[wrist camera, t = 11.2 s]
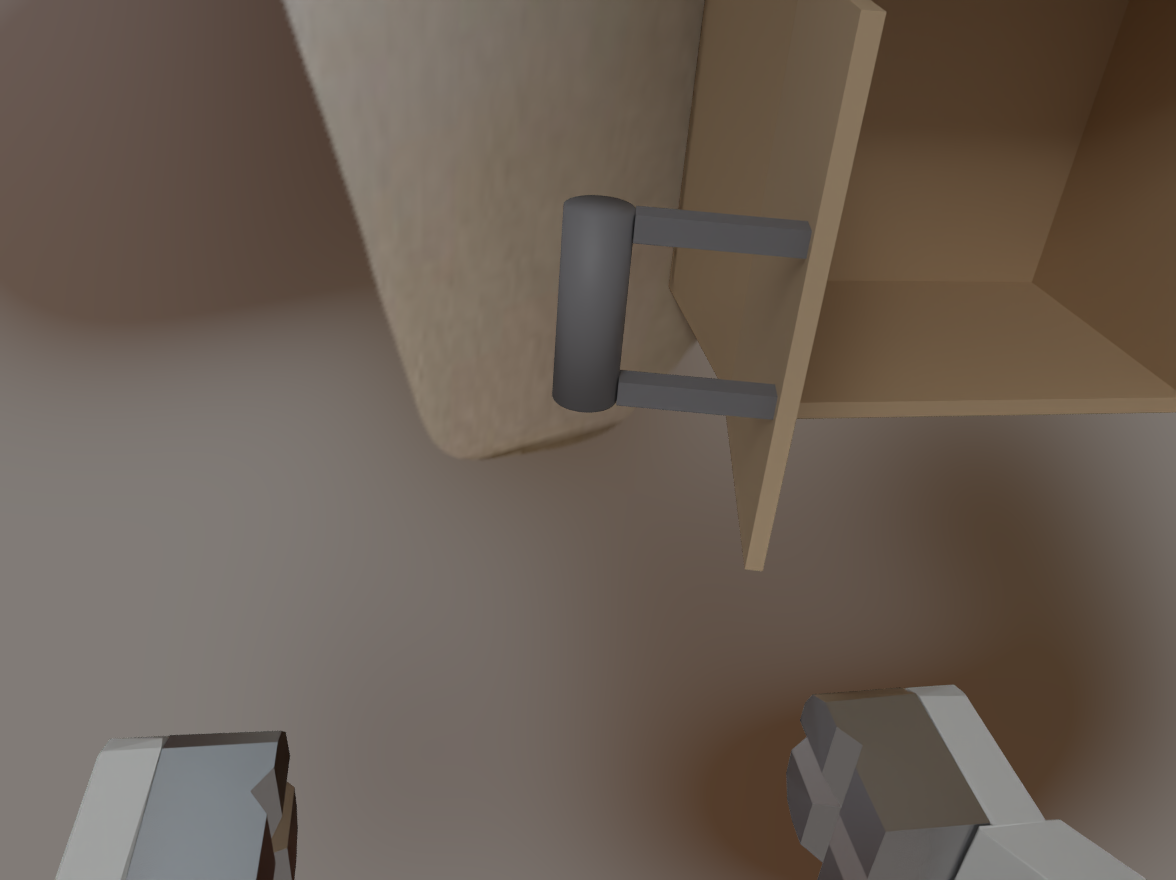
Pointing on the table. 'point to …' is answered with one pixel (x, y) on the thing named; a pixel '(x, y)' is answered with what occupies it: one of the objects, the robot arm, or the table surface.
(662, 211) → the flap
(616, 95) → the table surface
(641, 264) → the table surface
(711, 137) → the carton
